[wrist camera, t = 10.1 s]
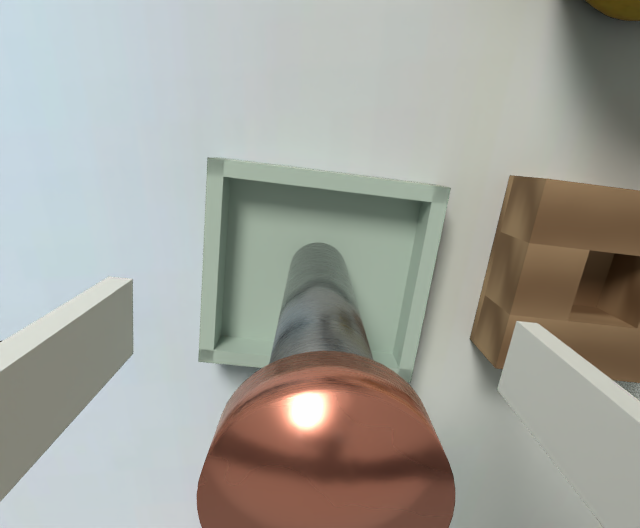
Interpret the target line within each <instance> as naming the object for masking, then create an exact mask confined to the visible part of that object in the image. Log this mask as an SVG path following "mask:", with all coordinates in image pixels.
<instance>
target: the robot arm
mask: <svg viewBox="0 0 640 528" xmlns="http://www.w3.org/2000/svg"><path fill="white" fill-rule="evenodd" d="M132 354H133V279H128V278H119V277H107V278H106V279H104V280H102V281H101V282H99V283H97V284H96V285H94V286H92V287H91V288H89V289H88V290H86V291H84V292H83V293H81V294H79V295H78V296H76V297H74V298H73V299H71V300H69V301H68V302H66V303H64V304H63V305H61V306H59V307H58V308H56V309H55V310H53V311H51V312H50V313H48V314H46V315H45V316H43V317H41V318H40V319H38V320H36V321H35V322H33V323H31V324H30V325H28V326H27V327H25V328H23V329H22V330H20V331H18V332H17V333H15V334H13V335H12V336H10V337H8V338H7V339H5V340H3V341H0V502H1V500H2V499H3V498H4V497H5V496H6V495H7V494H8V493H9V492H10V490H11V489H12V488H13V487H14V486H15V485H16V484H17V483H18V481H19V480H20V479H21V478H22V477H23V476H24V475H25V474H26V473H27V471H28V470H29V469H30V468H31V467H32V466H33V465H34V464H35V463H36V461H37V460H38V459H39V458H40V457H41V456H42V455H43V454H44V452H45V451H46V450H47V449H48V448H49V447H50V446H51V445H52V444H53V442H54V441H55V440H56V439H57V438H58V437H59V436H60V435H61V434H62V432H63V431H64V430H65V429H66V428H67V427H68V426H69V425H70V423H71V422H72V421H73V420H74V419H75V418H76V417H77V416H78V415H79V413H80V412H81V411H82V410H83V409H84V408H85V407H86V406H87V405H88V403H89V402H90V401H91V400H92V399H93V398H94V397H95V396H96V394H97V393H98V392H99V391H100V390H101V389H102V388H103V387H104V386H105V384H106V383H107V382H108V381H109V380H110V379H111V378H112V377H113V376H114V374H115V373H116V372H117V371H118V370H119V369H120V368H121V367H122V365H123V364H124V363H125V362H126V361H127V360H128V359H129V358H130V357H131V355H132ZM497 390H498V392H499V393H500V394H501V395H502V397H503V398H504V399H505V401H506V402H507V403H508V404H509V406H510V407H511V408H512V410H513V411H514V412H515V414H516V415H517V416H518V417H519V419H520V420H521V421H522V423H523V424H524V425H525V426H526V428H527V429H528V430H529V432H530V433H531V434H532V436H533V437H534V438H535V439H536V441H537V442H538V443H539V445H540V446H541V447H542V448H543V450H544V451H545V452H546V454H547V455H548V456H549V458H550V459H551V460H552V461H553V463H554V464H555V465H556V467H557V468H558V469H559V470H560V472H561V473H562V474H563V476H564V477H565V478H566V480H567V481H568V482H569V483H570V485H571V486H572V487H573V489H574V490H575V491H576V492H577V494H578V495H579V496H580V498H581V499H582V500H583V502H584V503H585V504H586V505H587V507H588V508H589V509H590V511H591V512H592V513H593V514H594V516H595V517H596V518H597V520H598V521H599V522H600V524H601V525H602V526H603V527H604V528H640V401H639V400H638V399H637V398H635V397H634V396H633V395H631V394H630V393H629V392H627V391H626V390H625V389H624V388H622V387H621V386H620V385H618V384H617V383H616V382H614V381H613V380H612V379H610V378H609V377H608V376H606V375H605V374H604V373H603V372H601V371H600V370H599V369H597V368H596V367H595V366H593V365H592V364H591V363H589V362H588V361H587V360H585V359H584V358H583V357H582V356H580V355H579V354H578V353H576V352H575V351H574V350H572V349H571V348H570V347H568V346H567V345H566V344H564V343H563V342H562V341H561V340H559V339H558V338H557V337H555V336H554V335H553V334H551V333H550V332H549V331H547V330H546V329H545V328H543V327H542V326H541V325H540V324H538V323H531V322H522V321H516V325H515V328H514V332H513V335H512V339H511V342H510V346H509V349H508V353H507V357H506V360H505V364H504V367H503V371H502V374H501V378H500V381H499V385H498V388H497Z"/></svg>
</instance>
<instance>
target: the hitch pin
mask: <svg viewBox="0 0 640 528" xmlns="http://www.w3.org/2000/svg"><path fill="white" fill-rule="evenodd" d="M454 506H455V484H454V477H453V474H452V470H451V467H450V464H449V462H448V459H447V457H446V455H445V452H444V450H443V448H442V446H441V443H440V441H439V439H438V437H437V434H436V432H435V430H434V427H433V425H432V423H431V421H430V418H429V416H428V414H427V412H426V409H425V407H424V405H423V403H422V401H421V399H420V398H419V397H418V395H417V394H416V392H415V391H414V390H413V388H412V387H411V386H410V385H409V384H408V383H407V382H406V381H405V380H404V379H403V378H402V377H400V376H399V375H398V374H397V373H395V372H394V371H393V370H391V369H389V368H388V367H386V366H384V365H383V364H381V363H378V362H376V361H374V360H373V356H372V353H371V350H370V346H369V343H368V339H367V336H366V332H365V329H364V326H363V322H362V319H361V315H360V312H359V309H358V305H357V302H356V298H355V295H354V292H353V288H352V285H351V281H350V278H349V274H348V271H347V268H346V264H345V261H344V259H343V257H342V255H341V253H340V252H339V251H338V250H337V249H336V248H334V247H333V246H331V245H329V244H325V243H318V242H317V243H310V244H307V245H305V246H303V247H302V248H300V249H299V250H298V251H297V252H296V253H295V255H294V256H293V258H292V260H291V264H290V268H289V273H288V278H287V282H286V287H285V292H284V296H283V301H282V306H281V310H280V315H279V320H278V324H277V329H276V334H275V338H274V343H273V348H272V352H271V357H270V362H269V365H267V366H265V367H263V368H262V369H260V370H259V371H257V372H255V373H254V374H253V375H252V376H250V377H249V378H248V379H247V380H246V381H244V382H243V383H242V384H241V386H240V387H239V388H238V389H237V390H236V391H235V392H234V394H233V395H232V397H231V398H230V399H229V401H228V402H227V404H226V406H225V408H224V411H223V413H222V415H221V418H220V421H219V423H218V426H217V429H216V432H215V435H214V437H213V440H212V443H211V446H210V449H209V452H208V454H207V457H206V460H205V463H204V466H203V469H202V472H201V475H200V478H199V482H198V490H197V510H198V515H199V520H200V524H201V526H202V528H449V525H450V522H451V519H452V517H453V511H454Z"/></svg>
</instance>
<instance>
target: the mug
mask: <svg viewBox="0 0 640 528" xmlns="http://www.w3.org/2000/svg"><path fill="white" fill-rule="evenodd" d="M585 1H586V2H588V3H589V4H590V5H591V6H592V7H594V8H595V9H597V10H598V11H600V12H601V13H603V14H604V15H606V16H609V17H611V18H615V19H620V20H626V21H640V0H585Z"/></svg>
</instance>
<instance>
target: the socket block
mask: <svg viewBox="0 0 640 528" xmlns="http://www.w3.org/2000/svg"><path fill="white" fill-rule="evenodd" d="M516 321H522V322H531V323H538V324H540V325H541V326H542V327H543V328H545V329H546V330H547V331H549V332H550V333H551V334H553V335H554V336H555V337H557V338H558V339H559V340H561V341H562V342H563V343H564V344H566V345H567V346H568V347H570V348H571V349H572V350H574V351H575V352H576V353H578V354H579V355H580V356H582V357H583V358H584V359H585V360H587V361H588V362H589V363H591V364H592V365H593V366H595V367H596V368H597V369H599V370H600V371H601V372H603V373H604V374H605V375H606V376H608V377H609V378H610V379H612V380H616V381H626V382H636V383H640V191H638V190H630V189H623V188H615V187H607V186H599V185H591V184H584V183H576V182H568V181H560V180H552V179H544V178H533V177H522V176H511V175H510V177H509V181H508V185H507V189H506V193H505V197H504V201H503V205H502V210H501V214H500V218H499V222H498V226H497V230H496V234H495V238H494V242H493V246H492V250H491V254H490V259H489V263H488V267H487V271H486V275H485V279H484V283H483V287H482V291H481V295H480V299H479V304H478V308H477V312H476V316H475V320H474V324H473V328H472V332H471V336H470V340H471V341H472V342H473V343H474V344H475V345H476V346H477V348H478V349H479V350H480V351H481V352H482V353H483V355H484V356H485V357H486V358H487V359H488V360H489V361H490V363H491V364H492V365H493V366H494V367H495V368H497V369H503V367H504V364H505V360H506V357H507V353H508V349H509V346H510V342H511V339H512V335H513V332H514V328H515V325H516Z"/></svg>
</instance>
